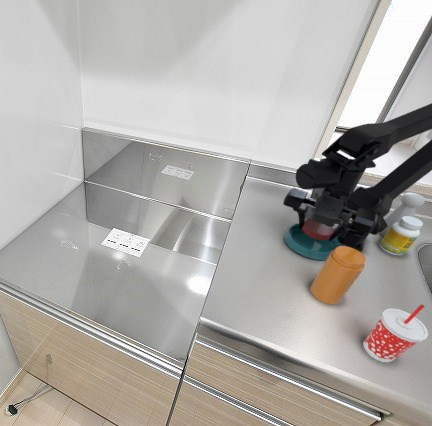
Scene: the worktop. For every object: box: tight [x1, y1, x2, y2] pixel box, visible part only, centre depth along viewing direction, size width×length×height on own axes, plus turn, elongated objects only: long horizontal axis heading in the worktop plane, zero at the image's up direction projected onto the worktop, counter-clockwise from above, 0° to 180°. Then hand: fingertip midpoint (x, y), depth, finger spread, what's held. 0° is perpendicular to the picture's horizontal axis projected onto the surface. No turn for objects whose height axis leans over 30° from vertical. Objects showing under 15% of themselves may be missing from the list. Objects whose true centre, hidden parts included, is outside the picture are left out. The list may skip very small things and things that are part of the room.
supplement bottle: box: [379, 216, 424, 256], centre depth 75 cm, size 5×5×10 cm
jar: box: [309, 245, 367, 306], centre depth 63 cm, size 6×6×12 cm
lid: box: [302, 218, 335, 240], centre depth 76 cm, size 7×7×2 cm
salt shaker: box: [379, 192, 426, 237], centre depth 78 cm, size 6×6×13 cm
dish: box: [284, 222, 341, 261], centre depth 78 cm, size 12×12×3 cm
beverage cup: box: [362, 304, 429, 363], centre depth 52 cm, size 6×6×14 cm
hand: (314, 234), depth 77 cm, fingers closed on lid, 6 cm apart
